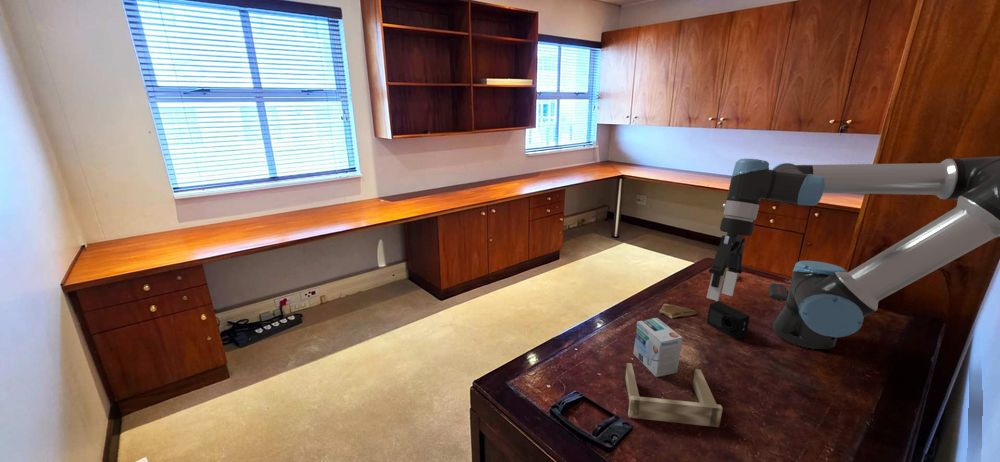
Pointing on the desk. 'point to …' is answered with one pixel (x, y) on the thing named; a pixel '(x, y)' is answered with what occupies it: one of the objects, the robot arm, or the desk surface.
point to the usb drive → (778, 291)
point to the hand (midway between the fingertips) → (720, 297)
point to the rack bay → (674, 404)
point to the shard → (676, 311)
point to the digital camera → (728, 320)
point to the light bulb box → (657, 347)
